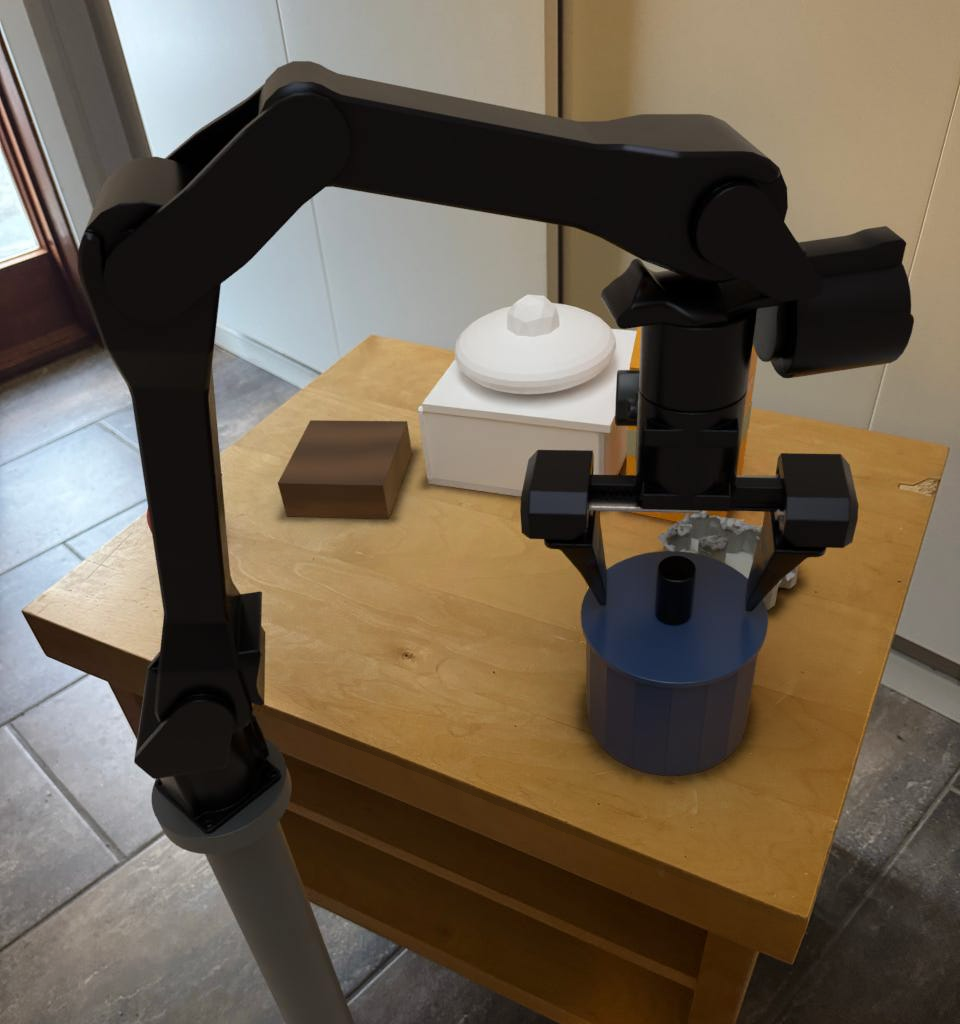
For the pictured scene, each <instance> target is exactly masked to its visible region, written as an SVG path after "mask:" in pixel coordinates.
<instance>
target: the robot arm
mask: <svg viewBox="0 0 960 1024" xmlns="http://www.w3.org/2000/svg"><path fill="white" fill-rule="evenodd" d="M332 187H333V188H339V189H343V190H350V191H354V192H355V191H356V192H362V193H368V194H374V195H378V196H384V197H391V198H397V199H403V200H409V201H414V202H415V201H416V202H421V203H426V204H427V203H428V204H433V205H439V206H444V207H451V208H457V209H463V210H467V211H474V212H479V213H485V214H492V215H497V216H502V217H503V216H504V217H508V218H509V217H510V218H516V219H520V220H521V219H522V220H528V221H533V222H538V223H545V224H550V225H557V226H562V227H569V228H574V229H577V230H580V231H583V232H585V233H588V234H590V235H593V236H596V237H597V238H600V239H602V240H604V241H606V242H607V243H610V244H612V245H613V246H615V247H618V248H619V249H621V250H622V251H625V252H626V253H628V254H630V255H632V256H634V257H636V258H633V259H632V260H631V262H630V263H629V265H628V267H627V268H626V269H625V271H624V272H622V273H621V274H620V275H619V276H617V277H615V278H614V279H613V280H612V281H611V282H610V283H609V284H608V285H607V286H606V287H604V288H603V289H602V290H601V293H600V298H601V300H602V302H603V304H604V306H605V307H606V309H607V311H608V312H609V315H610V316H611V317H612V319H613V321H614V322H615V325H616V326H617V327H618V329H620V330H629V329H633V328H634V329H635V328H638V327H641V343H640V370H618V371H617V383H616V404H615V424H616V425H617V426H637V433H636V458H635V460H636V470H635V475H626V474H618V475H593V472H594V454H593V451H591V450H537V451H536V452H535V453H534V454H533V455H532V456H531V457H530V459H529V460H528V465H527V470H526V475H525V479H524V484H523V489H522V494H521V497H520V508H519V511H520V512H519V513H520V514H519V515H520V527H521V534H522V535H524V536H525V537H527V538H528V539H530V540H543V543H544V546H545V548H548V549H549V550H559V551H560V552H561V553H563V555H564V557H566V558H567V559H568V561H569V562H570V563H571V564H572V565H573V566H574V567H575V569H576V571H578V573H579V574H580V575H581V576H582V578H583V580H584V581H585V583H586V585H587V586H588V588H590V590H591V591H592V593H593V595H594V596H595V598H596V600H597V601H598V603H599V604H600V605H602V606H605V605H606V601H607V570H606V569H607V562H606V555H605V546H604V539H603V532H602V525H601V524H602V523H601V512H617V513H618V512H619V513H620V512H621V513H624V512H625V513H632V512H658V513H701V512H702V511H728V512H764V516H763V521H762V525H761V526H762V530H761V534H760V537H759V541H758V544H757V548H756V552H755V555H754V559H753V563H752V566H751V570H750V573H749V577H748V581H747V588H746V597H745V608H746V611H753V610H754V609H755V608H756V607H757V605H758V604H759V603H760V602H761V601H762V600H763V599H764V598H765V597H766V595H767V594H768V593H769V592H770V591H771V590H772V589H773V588H774V586H776V584H777V583H778V582H779V581H780V580H781V579H782V578H784V577H785V576H786V575H787V574H788V573H789V572H791V571H792V570H793V569H794V568H796V567H797V566H798V565H799V566H800V564H802V563H803V562H804V561H805V560H807V559H809V558H820V557H823V556H824V555H825V554H826V551H827V548H829V549H845V548H846V547H847V546H849V545H851V544H852V543H853V541H854V537H855V533H856V528H857V524H858V520H859V500H858V495H857V492H856V488H855V482H854V478H853V473H852V469H851V465H850V463H849V462H848V461H847V460H846V458H845V456H843V455H842V454H841V453H793V452H789V453H788V452H787V453H786V452H781V453H779V455H778V457H777V459H776V460H777V461H776V467H775V475H761V474H760V475H757V474H755V475H752V474H742V475H737V468H738V460H739V452H740V444H741V436H742V428H743V420H744V412H745V404H746V395H747V387H748V379H749V371H750V363H751V355H752V347H753V346H754V349H755V352H756V354H757V358H758V359H759V360H760V361H761V362H763V363H769V362H770V364H771V365H772V367H773V369H774V371H775V372H776V374H777V375H778V376H780V377H781V378H783V379H794V378H801V377H808V376H813V375H814V376H815V375H820V374H826V373H827V374H828V373H833V372H840V371H847V370H854V369H855V370H856V369H861V368H867V367H874V366H880V365H887V364H892V363H893V362H896V361H897V360H898V359H899V358H900V357H901V356H902V355H903V354H904V352H905V350H906V348H907V347H908V345H909V342H910V339H911V336H912V333H913V329H914V323H915V318H914V315H913V314H912V293H911V287H910V283H909V282H910V281H909V276H908V274H907V271H906V269H905V266H904V264H903V261H904V256H905V251H906V247H907V242H906V241H905V239H904V238H902V236H900V235H899V234H897V233H896V232H895V231H894V230H892V228H890V227H888V226H887V225H884V226H883V225H882V226H876V227H869V228H864V229H862V230H859V231H856V232H854V233H851V234H846V235H840V236H834V237H827V238H819V239H813V240H806V241H799V242H798V240H796V238H795V236H794V234H793V233H792V231H791V230H790V229H789V226H788V225H787V224H786V222H785V220H786V216H787V213H788V208H789V205H788V204H789V201H788V199H789V198H788V187H787V183H786V181H785V179H784V176H783V174H782V172H781V168H780V167H779V166H778V165H777V163H775V161H773V160H771V158H770V157H768V155H766V154H765V153H763V152H762V151H761V150H760V149H758V148H757V147H756V146H755V145H754V144H752V143H751V142H750V141H749V140H748V139H746V138H745V136H743V135H742V134H741V133H740V132H738V131H737V130H736V129H735V128H734V127H733V126H731V125H730V124H729V123H728V122H727V121H725V120H723V119H721V118H719V117H716V116H714V115H711V114H703V113H641V114H636V115H631V116H625V117H620V118H615V119H610V120H602V121H601V120H593V121H591V120H589V121H587V120H585V121H584V120H583V121H580V120H574V119H569V118H564V117H558V116H554V115H548V114H543V113H538V112H533V111H528V110H524V109H518V108H512V107H508V106H504V105H503V106H502V105H498V104H494V103H488V102H483V101H479V100H478V101H477V100H474V99H468V98H462V97H457V96H452V95H449V94H448V95H447V94H443V93H439V92H432V91H428V90H422V89H417V88H412V87H407V86H402V85H397V84H394V83H393V84H392V83H387V82H383V81H378V80H372V79H368V78H362V77H357V76H354V75H353V76H351V75H347V74H342V73H339V72H335V71H333V70H331V69H329V68H327V67H325V66H324V65H322V64H321V63H317V62H314V61H310V60H292V61H290V62H288V63H286V64H283V65H281V66H278V67H277V68H276V69H275V70H274V71H273V72H272V73H271V74H270V75H269V76H268V77H267V78H266V79H265V82H264V83H263V84H262V85H261V86H260V87H259V88H257V89H256V90H255V91H254V92H253V93H251V94H250V95H249V96H247V97H246V98H245V99H243V100H242V101H240V102H239V103H237V104H236V105H234V106H233V107H231V108H229V109H228V110H227V111H225V112H223V113H221V114H220V115H219V116H217V117H216V118H214V119H212V120H211V121H209V122H208V123H207V124H205V125H204V126H202V127H201V128H199V129H198V130H196V131H195V132H194V133H193V134H192V135H191V136H189V137H188V138H187V139H186V140H185V141H183V142H182V143H181V144H180V145H178V147H176V148H175V149H174V150H172V151H171V152H170V153H169V154H168V155H167V156H166V157H165V158H164V157H159V156H149V157H147V156H146V157H137V158H133V159H132V160H130V161H127V162H125V163H124V164H122V165H119V166H117V168H116V169H114V171H113V172H112V173H111V174H110V175H109V177H108V178H107V179H105V182H104V183H103V185H102V188H101V190H100V192H99V195H98V197H97V199H96V202H95V204H94V207H93V209H92V212H91V214H90V216H89V219H88V222H87V224H86V227H85V229H84V232H83V234H82V236H81V240H80V243H79V247H78V249H77V273H78V276H79V280H80V284H81V287H82V290H83V292H84V295H85V297H86V300H87V303H88V305H89V308H90V312H91V314H92V317H93V320H94V323H95V325H96V328H97V331H98V334H99V336H100V340H101V342H102V345H103V347H104V349H105V351H106V353H107V354H108V356H109V357H110V359H111V361H112V363H113V364H114V366H115V367H116V369H117V371H118V372H119V374H120V375H121V377H122V379H123V380H124V382H125V384H126V386H127V388H128V391H129V394H130V397H131V402H132V409H133V417H134V423H135V429H136V435H137V443H138V449H139V455H140V463H141V469H142V470H141V471H142V477H143V483H144V489H145V496H146V503H147V509H148V510H149V517H150V523H151V530H152V533H151V536H152V537H151V538H152V542H153V550H154V557H155V563H156V569H157V576H158V582H159V583H158V584H159V590H160V597H161V603H162V607H163V608H162V609H163V618H162V619H163V620H162V630H161V638H160V647H159V652H158V653H156V655H155V656H154V658H153V659H152V660H151V661H150V662H149V663H148V665H147V669H146V676H145V683H144V689H143V697H142V703H141V710H140V715H139V716H140V717H139V725H138V732H137V736H136V745H135V751H134V758H133V762H134V765H136V766H137V767H138V768H139V769H141V770H142V771H143V772H144V773H145V774H147V775H148V776H149V777H150V778H152V779H153V780H156V779H158V780H157V781H156V783H155V782H154V783H155V786H156V788H157V790H158V791H159V792H160V793H161V794H162V795H163V796H164V797H165V798H166V799H167V800H168V801H170V802H171V803H172V804H173V805H174V806H175V807H176V808H177V809H178V810H179V811H180V812H182V813H183V814H184V815H185V816H186V817H187V818H188V819H189V820H190V821H191V822H193V823H194V824H195V825H196V826H197V827H198V828H199V829H200V830H201V831H202V832H203V833H205V834H212V833H213V832H215V831H216V830H217V829H219V828H220V827H221V826H223V825H224V824H225V823H226V822H228V821H229V820H230V819H231V818H233V817H234V816H235V815H236V814H238V813H239V812H240V811H241V810H243V809H244V808H245V807H247V806H248V805H249V804H250V803H252V802H253V801H254V800H255V799H257V798H258V797H259V796H260V795H262V794H263V793H264V792H265V791H267V790H268V789H269V788H271V787H272V786H273V785H274V784H276V783H277V782H278V781H279V780H280V779H281V773H280V771H279V769H278V768H276V767H275V766H274V765H273V764H271V763H270V762H269V761H267V760H266V759H265V758H267V757H268V756H269V750H268V747H267V744H266V741H265V738H266V737H265V736H264V733H263V730H262V728H261V725H260V722H259V719H258V717H257V715H256V714H254V713H253V712H254V704H255V705H257V706H260V707H262V706H264V705H265V692H266V691H265V687H266V686H265V684H266V631H265V629H264V627H263V625H262V620H263V619H262V616H263V615H262V613H263V611H262V610H263V592H262V591H253V592H247V593H241V592H240V591H239V590H238V588H237V586H236V584H235V583H234V581H233V579H232V575H231V567H230V557H229V556H230V555H229V545H228V543H229V542H228V534H227V533H228V531H227V520H226V511H225V500H224V486H223V477H222V476H223V475H222V465H221V451H220V441H219V440H220V439H219V429H218V420H217V419H218V417H217V407H216V394H215V383H214V372H213V361H214V350H215V343H216V342H215V341H216V333H217V323H218V313H219V307H220V296H221V287H222V284H223V283H224V282H225V281H226V280H228V279H230V278H231V277H232V276H233V275H234V274H235V273H237V272H238V271H240V270H241V269H242V268H243V267H245V266H246V265H247V264H248V263H249V262H250V261H251V260H252V259H253V258H254V257H255V256H256V255H257V254H258V253H259V252H260V251H261V250H262V249H263V248H264V246H265V245H267V243H269V242H270V240H271V239H272V238H273V237H274V236H275V235H276V234H277V233H278V232H279V231H280V230H281V229H282V228H283V227H284V226H285V225H286V223H287V222H289V221H290V219H291V218H292V217H293V216H294V215H295V214H296V213H298V211H299V210H300V209H301V207H303V206H304V205H305V204H306V203H307V202H309V201H310V200H312V199H313V198H314V197H315V196H316V195H317V194H319V193H320V192H321V191H322V190H324V189H325V188H332ZM643 261H644V262H646V263H649V264H651V265H654V266H657V267H659V268H662V269H664V270H661V271H654V270H651V269H649V267H647V266H646V264H644V262H643ZM275 774H276V775H275ZM272 775H275V776H274V777H271V776H272ZM162 784H163V786H161V785H162ZM209 825H211V827H209V828H206V827H207V826H209Z"/></svg>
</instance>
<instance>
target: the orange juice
mask: <svg viewBox="0 0 960 1024" xmlns="http://www.w3.org/2000/svg"><path fill="white" fill-rule="evenodd" d="M636 328H637V329H636V331H637V333H636V338H635V343H634V347H633V352H632V357H631V362H630V370H640V343H641V327H636ZM757 363H758V356H757V354H756V352H755V349H754V346H753V347H752V355H751V363H750V371H749V379H748V387H747V395H746V404H745V412H744V420H743V428H742V436H741V444H740V452H739V460H738V468H737V475H743V471H744V463H745V456H746V447H747V439H748V432H749V428H750V421H751V414H752V406H753V394H754V386H755V378H756V372H757V371H756V370H757ZM636 433H637V426H628V428H627V445H626V455H627V456H626V463H625V464H626V467H625V475H635V470H636V460H635V458H636ZM707 512H708V513H709V516H710V517H711V516H714V515H717V516H719V517H727V515H728V513H729V511H707ZM632 513H633V514H637V515H641V516H647V517H652V518H656V519H660V520H661V519H662V520H667V521H672V522H676V523H677V522H678V521H682V520H683V518H684V517H685V515H687V514H689V515H690V516H691V515H692V514H693V513H658V512H631V514H632Z"/></svg>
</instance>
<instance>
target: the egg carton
mask: <svg viewBox="0 0 960 1024" xmlns="http://www.w3.org/2000/svg"><path fill="white" fill-rule="evenodd" d="M762 526H763V525H760V524H759V525H757V526H756V525H753V524H750V523H745V522H743V521H742V520H741V519H739V518H733V517H727V516H726V517H719V516H717V515H714V516H711V517H710V516H709V513H708V512H707V511H702V512H701V513H693V514H692V515H691V516H690V515H689V514H687V515H685V517H684V518H683V520H682V521H678V522H676V523H674V524H672V525H670V526H668V529H667V530H666V531H665V532H664V533H660V534H658V535H657V536H656V538H657V539H658V541H659V542H660V543H661V544H662V545H663V546H662V547H663V549H662V551H681V552H690V553H695V554H700V555H704V556H707V557H710V558H714V559H716V560H719V561H721V562H723V563H725V564H727V565H729V566H731V567H733V568H734V569H736V570H737V571H739V572H740V573H742V574H743V575H744V576H745V577H746V578H747V579H748V577H749V573H750V570H751V566H752V563H753V559H754V555H755V552H756V548H757V544H758V541H759V537H760V534H761V530H762ZM799 567H800V564H799V565H798V566H797V567H796V568H794V569H793V570H792V571H791V572H789V573H788V574H787V575H786V576H785V577H784V578H782V579H781V580H780V581H779V582H778V583H777V584H776V586H774V588H773V589H772V590H771V591H770V592H769V593H768V594H767V595H766V597H765V598H764V599H763V600H764V603H765V605H766V609H767V611H769V610H770V609H772V608H773V607H775V606H776V601H777V596H778V590H779V589H780V588H784V589H788V590H790V589H792V588H793V587H794V586H795V585H796V584H797V579H798V573H799V570H800V569H799Z"/></svg>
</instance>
